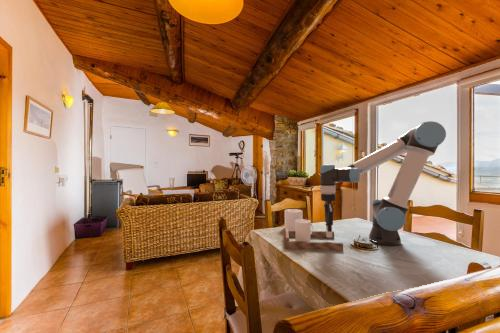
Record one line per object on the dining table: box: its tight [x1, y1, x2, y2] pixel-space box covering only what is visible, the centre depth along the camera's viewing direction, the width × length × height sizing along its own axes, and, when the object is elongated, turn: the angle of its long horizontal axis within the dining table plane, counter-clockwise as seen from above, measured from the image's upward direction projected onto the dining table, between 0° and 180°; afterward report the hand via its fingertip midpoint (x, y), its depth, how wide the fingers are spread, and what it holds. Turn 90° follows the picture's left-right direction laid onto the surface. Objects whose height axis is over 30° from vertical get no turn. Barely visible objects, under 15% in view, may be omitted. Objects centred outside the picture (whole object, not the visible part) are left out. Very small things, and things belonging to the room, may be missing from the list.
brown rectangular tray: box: [284, 227, 344, 252], centre depth 129 cm, size 28×21×5 cm
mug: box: [294, 218, 314, 242], centre depth 130 cm, size 12×8×12 cm
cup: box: [284, 208, 304, 230], centre depth 157 cm, size 12×12×12 cm
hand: (329, 236), depth 128 cm, fingers closed
